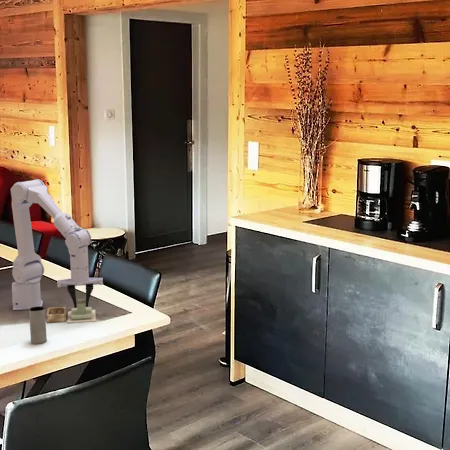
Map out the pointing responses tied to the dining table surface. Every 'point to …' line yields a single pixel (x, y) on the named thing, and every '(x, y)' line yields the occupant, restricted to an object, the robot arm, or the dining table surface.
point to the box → (56, 314)
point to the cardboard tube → (37, 325)
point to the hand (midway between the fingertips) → (81, 306)
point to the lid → (81, 310)
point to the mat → (81, 319)
